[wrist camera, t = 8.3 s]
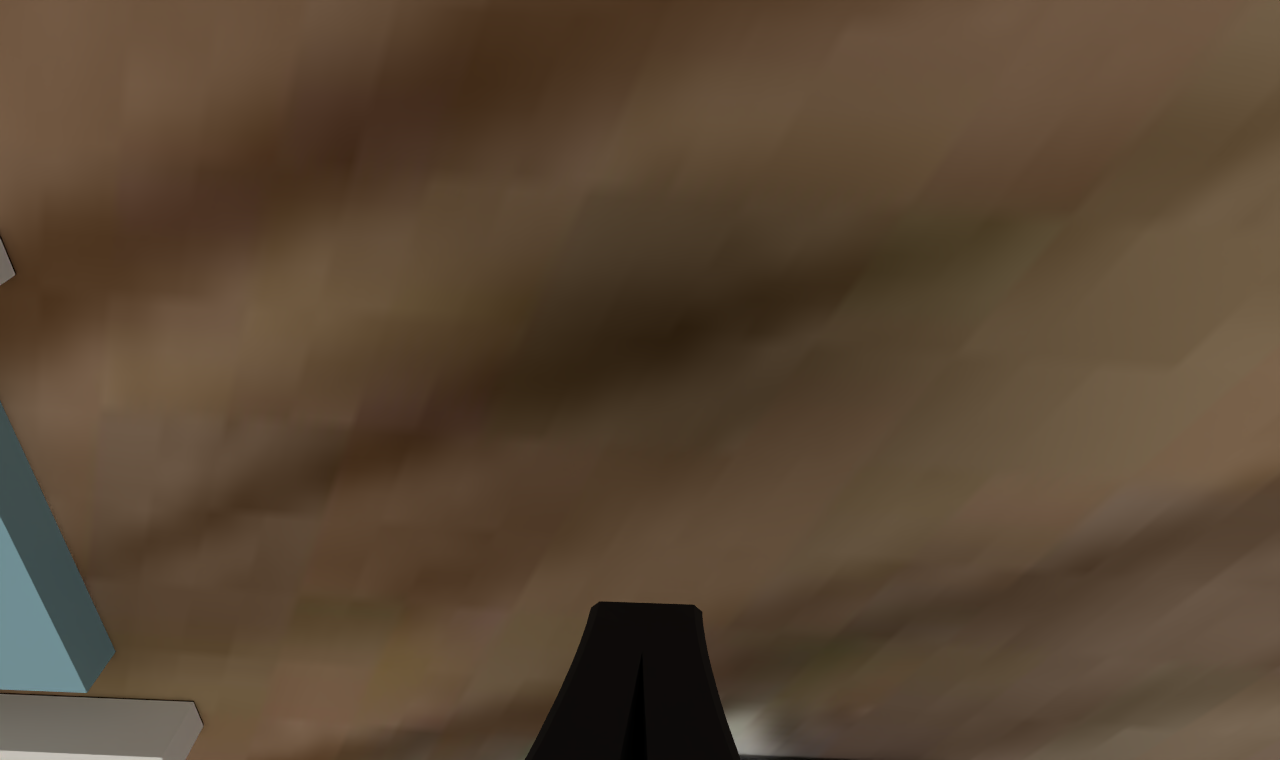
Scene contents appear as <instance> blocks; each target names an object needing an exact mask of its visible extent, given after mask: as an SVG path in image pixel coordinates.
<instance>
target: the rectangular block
mask: <svg viewBox="0 0 1280 760" xmlns="http://www.w3.org/2000/svg"><path fill="white" fill-rule="evenodd" d="M114 653H115V650H114V647H113V645H112V643H111V641H110V639H109V637H108V634H107V632H106V630H105V628H104V626H103V624H102V621H101V619H100V617H99V615H98V613H97V610H96V608H95V606H94V604H93V602H92V600H91V597H90V595H89V593H88V591H87V589H86V587H85V584H84V582H83V580H82V578H81V576H80V574H79V571H78V569H77V567H76V565H75V563H74V561H73V558H72V556H71V554H70V552H69V550H68V547H67V545H66V543H65V541H64V539H63V537H62V534H61V532H60V530H59V528H58V526H57V524H56V521H55V519H54V517H53V515H52V513H51V511H50V508H49V506H48V504H47V502H46V500H45V497H44V495H43V493H42V491H41V489H40V487H39V484H38V482H37V480H36V478H35V476H34V474H33V471H32V469H31V467H30V465H29V463H28V461H27V458H26V456H25V454H24V452H23V450H22V447H21V445H20V443H19V441H18V439H17V437H16V434H15V432H14V430H13V428H12V426H11V424H10V421H9V419H8V417H7V415H6V413H5V411H4V408H3V406H2V404H1V402H0V689H6V690H30V691H55V692H80V693H87V692H88V691H89V689H90V688H91V686H92V685H93V683H94V682H95V681H96V679H97V678H98V676H99V675H100V673H101V672H102V671H103V669H104V668H105V666H106V665H107V663H108V662H109V660H110V659H111V658H112V656H113V655H114Z"/></svg>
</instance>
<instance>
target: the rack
mask: <svg viewBox="0 0 1280 760" xmlns="http://www.w3.org/2000/svg"><path fill="white" fill-rule="evenodd" d="M13 276H15V272H14V270H13V268H12V265H11V263H10V260H9V258H8V256H7V253H6V251H5V248H4V246H3V243H2V241H1V239H0V285H1V284H3V283H4V282H6V281H7V280H9V279H10V278H12V277H13ZM202 728H203V724H202V721H201V719H200V717H199V714H198V712H197V709H196V707H195V705H194V702H181V701H158V700H134V699H110V698H86V697H62V696H38V695H14V694H0V760H185V759H186V757H187V756H188V754H189V752H190V750H191V748H192V746H193V745H194V743H195V741H196V739H197V737H198V735H199V733H200V732H201V730H202Z"/></svg>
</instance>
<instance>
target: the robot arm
mask: <svg viewBox="0 0 1280 760" xmlns="http://www.w3.org/2000/svg"><path fill="white" fill-rule="evenodd" d="M525 760H740V757H739V754H738V751H737V748H736V745H735V743H734V740H733V737H732V734H731V731H730V728H729V726H728V723H727V720H726V717H725V714H724V710H723V707H722V704H721V701H720V698H719V694H718V690H717V687H716V683H715V679H714V676H713V672H712V668H711V664H710V660H709V656H708V651H707V646H706V641H705V634H704V628H703V618H702V611H701V610H699V609H698V608H697V607H696V606H695V605H685V604H656V603H628V602H598V603H597V604H596V605H594V606H593V607H591V610H590V614H589V617H588V621H587V624H586V627H585V630H584V633H583V636H582V639H581V642H580V644H579V647H578V649H577V652H576V655H575V657H574V659H573V662H572V664H571V667H570V669H569V671H568V673H567V676H566V678H565V680H564V682H563V685H562V687H561V689H560V691H559V694H558V696H557V698H556V700H555V702H554V704H553V706H552V708H551V710H550V712H549V714H548V716H547V718H546V720H545V722H544V724H543V726H542V728H541V730H540V732H539V734H538V736H537V738H536V740H535V742H534V744H533V746H532V748H531V749H530V751H529V753H528V755H527V757H526V758H525Z"/></svg>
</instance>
